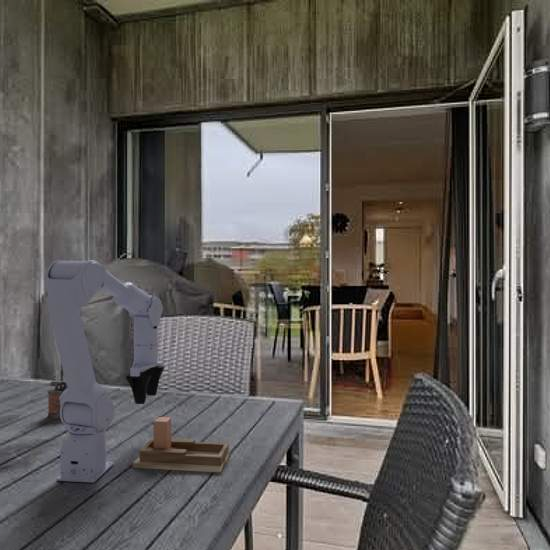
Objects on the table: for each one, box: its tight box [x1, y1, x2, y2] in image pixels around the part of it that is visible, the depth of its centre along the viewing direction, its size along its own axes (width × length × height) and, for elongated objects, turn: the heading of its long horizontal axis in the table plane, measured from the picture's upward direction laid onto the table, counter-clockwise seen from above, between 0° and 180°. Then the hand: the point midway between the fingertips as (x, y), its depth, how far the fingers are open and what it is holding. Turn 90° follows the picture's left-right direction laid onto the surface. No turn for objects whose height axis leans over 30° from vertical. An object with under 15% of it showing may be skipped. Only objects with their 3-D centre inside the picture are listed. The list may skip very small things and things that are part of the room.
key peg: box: [153, 416, 177, 449], centre depth 114 cm, size 5×5×8 cm
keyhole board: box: [132, 437, 231, 473], centre depth 113 cm, size 10×19×3 cm, turn 83°
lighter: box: [47, 379, 68, 419], centre depth 145 cm, size 8×3×10 cm, turn 92°
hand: (145, 399), depth 126 cm, fingers open, 7 cm apart
